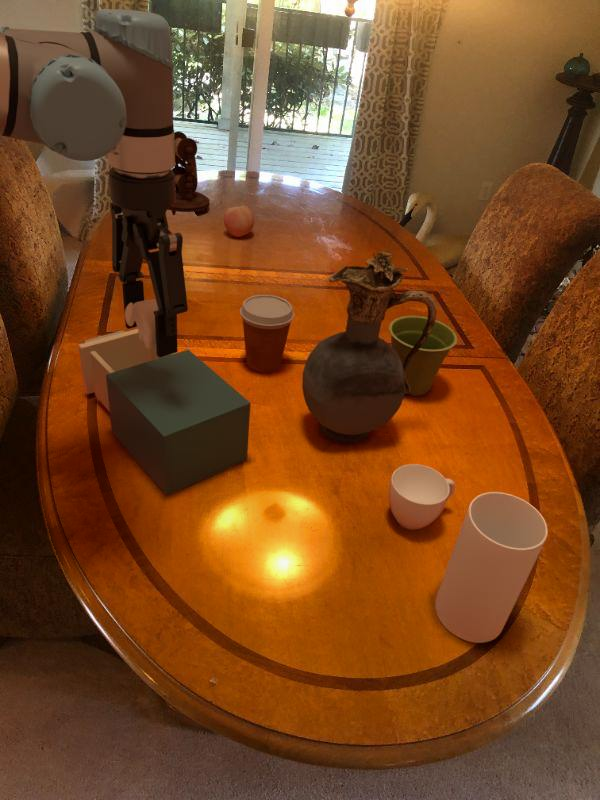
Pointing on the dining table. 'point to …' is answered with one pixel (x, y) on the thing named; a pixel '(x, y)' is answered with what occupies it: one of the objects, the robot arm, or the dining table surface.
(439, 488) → the cup
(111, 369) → the drawer
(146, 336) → the elephant figurine
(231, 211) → the apple
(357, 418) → the pitcher
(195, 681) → the dining table surface
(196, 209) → the brown mechanical sculpture
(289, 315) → the disposable coffee cup
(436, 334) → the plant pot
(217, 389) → the cabinet
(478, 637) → the cup
